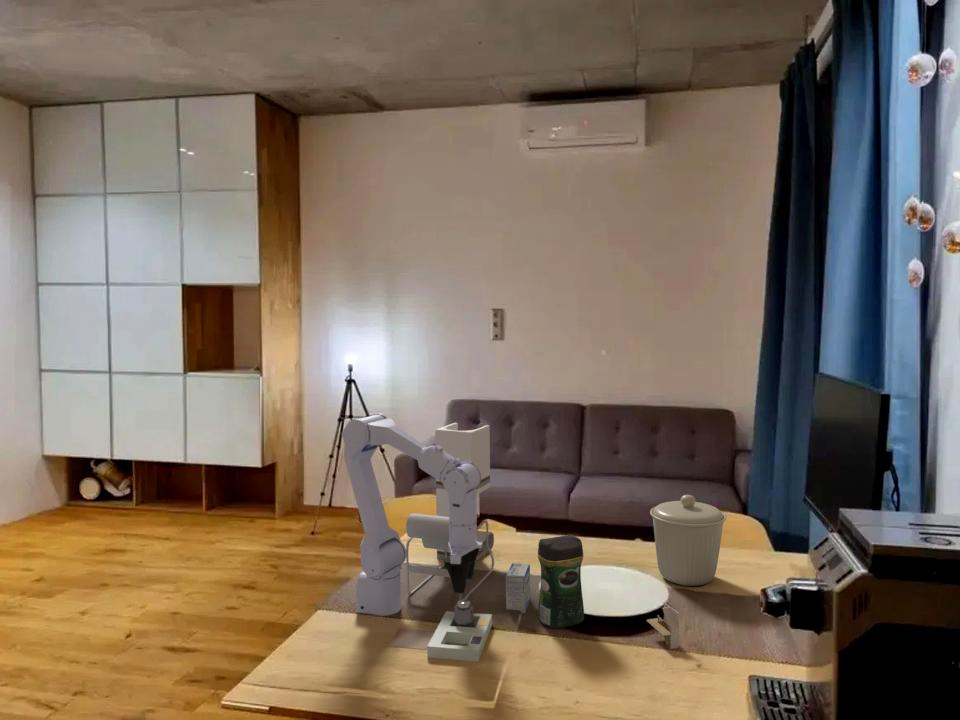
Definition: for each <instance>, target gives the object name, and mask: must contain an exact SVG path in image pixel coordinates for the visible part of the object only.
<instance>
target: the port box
mask: <svg viewBox="0 0 960 720" xmlns="http://www.w3.org/2000/svg"><path fill="white" fill-rule="evenodd" d="M473 624H474V628H472V627H458V626H454V611H451V610H450V611H448V610H447V611H445V612H444V614H443V616H442V618H441V620H440V622H439V623H438V625H437V627H436V629H435V630H434V631H435V633H434V635H433V637H432V638H431V640H430V642H429V644H428V646H427V649H426V651H427V652H426V653H427V655H426V656H427V658H429V659H430V658H431V659H441V660H452V661H454V660H455V661H466V662H477V663H479V661H480V659H481V656H482V653H483V651H484V648H485V645H486V642H487V639H488V637H489V635H490V631H491V629H492V626H493V614H490V613H474V612H473ZM447 643H452V644H447ZM455 644H456V645H455ZM457 644H463V645H457ZM464 644H465V645H464Z"/></svg>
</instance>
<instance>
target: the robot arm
mask: <svg viewBox="0 0 960 720" xmlns="http://www.w3.org/2000/svg"><path fill="white" fill-rule="evenodd" d="M341 436H342V439H343V443H344V451H343V452H344V453H343V457H344V458H343V459H344V462H345V467H346V470H347V473H348V474H347V475H348V478H349V481H350V483H351V488H352V491H353V495H354V499H355V503H356V506H357V510H358V513H359V516H360V517H359V518H360V521H361V524H362V528H363V531H364V536H363V538H362V540H361V542H360V545H359V550H360V567H361V569H362V571H361V572H360V573H359V574H358V577H357V581H356V588H355V589H356V613H359V614H367V615H368V614H370V615H373V616H392V615H395V614H397V613H399V612H400V611H401V609H402V594H401V591H402V589H401V588H402V587H401V586H402V585H401V584H402V582H401V570H403V569H402V567H403V566H402V564H404V562H405V561H406V555H407V553H406V546H405V544H404V543H403V542H402V540H401V538H400V536H399V533H398V531H397V530H395V529H394V528H392V527H390V525H389V521H388V518H387V514H386V510H385V508H384V503H383V500H382V496H381V492H380V489H379V486H378V482H377V479H376V475H375V472H374V467H373V465H372V457H373V456H374V454H375V452H376V451H377V449H378V448H379V447H380V446H382V445H389V446H391V447H393V448H394V449H396V450H398V451H400V452H402V453H403V454H405V455H407V456H409V457H411V458H413V459H414V460H417V464H418V468H419V469H421V471H423V472H424V473H426V474H427V475H430V476H431V477H433V478H434V479H435V480H436V479H437V480H439V481H440V482H442V483H443V485H444V488H445V490H446V491H447V493H448V500H449V543H448V547H449V550H450V553H451V554H450V558H445V559H443V564H444V567H445V569H447V571H448V573H449V575H450V577H449V578H450V582H451V587H452V590H453V593H454V594H459V593H461V595H462V594H463V595H464V593H465V591H466V589H467V580H472V579H473V576H474V571H475V565H476V562H477V561H476V557H477V554H478V552H479V550H480V548H481V547H482V542H477V527H478V526H477V522H478V521H477V519H478V518H477V508H476V489H475V488H476V487H477V486H478V485H479V484H480V482H481V473H480V470H479V469H478V467H477V466H475V465H474V464H473V463H472V462H461V460H460V459H459V458H454V457H452V456H451V455H449V454H448V453H446V452H444V451H443V448H442V447H441V446H435V445H432V444H431V445H429V446H426V445H424V444H423V443H422V442H420V441H419V440H417V439H416V438H414V437H413V436H412V435H410V434H409V433H408V432H406V431H405V430H403V429H402V428H401V427H399V426H398V425H397V424H396V423H395V421H394V419H392V418H390V417H387V416H386V415H384V413H374V414H372V415H370V416H365V417H362V418H355V419H351V420H349V421H348V422H347V424H346V425H345V427H344V429H343V430H342V432H341ZM473 489H474V490H473ZM475 561H476V562H475Z"/></svg>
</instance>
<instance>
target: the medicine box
mask: <svg viewBox="0 0 960 720" xmlns="http://www.w3.org/2000/svg"><path fill="white" fill-rule="evenodd" d="M505 600H506V601H505V605H506V610H512V611H519V614H525V615H526V612H527V610H528V606H529V604H530V601H531V565H530V564H529V563H520V562H519V563H518V562H515V563H514V562H513V563H511V565H510V567H509V570H508V571H507V574H506V576H505Z"/></svg>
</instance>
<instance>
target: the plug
mask: <svg viewBox="0 0 960 720" xmlns="http://www.w3.org/2000/svg"><path fill="white" fill-rule="evenodd" d="M453 610H454V611H453V612H454V626H458V627H472V628H475V626H474V624H473V613H474V605H473V604H471V601H470V600H468V599H466V600H460V601H459V600H458V601H456V605H454V607H453Z"/></svg>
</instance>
